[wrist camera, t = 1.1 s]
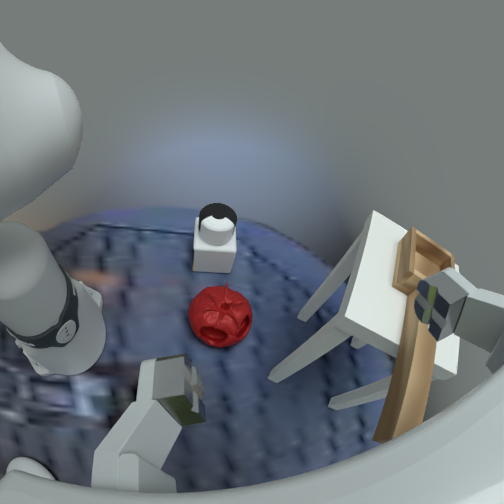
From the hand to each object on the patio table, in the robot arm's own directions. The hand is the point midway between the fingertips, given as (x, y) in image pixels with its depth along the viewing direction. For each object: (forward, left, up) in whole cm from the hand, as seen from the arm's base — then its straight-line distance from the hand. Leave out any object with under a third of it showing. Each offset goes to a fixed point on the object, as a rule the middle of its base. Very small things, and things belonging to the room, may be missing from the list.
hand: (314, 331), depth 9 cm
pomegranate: (-7, +13, -36) cm, 39 cm away
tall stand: (+11, +16, -36) cm, 41 cm away
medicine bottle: (-15, +24, -36) cm, 46 cm away
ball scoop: (+11, +10, -10) cm, 18 cm away
